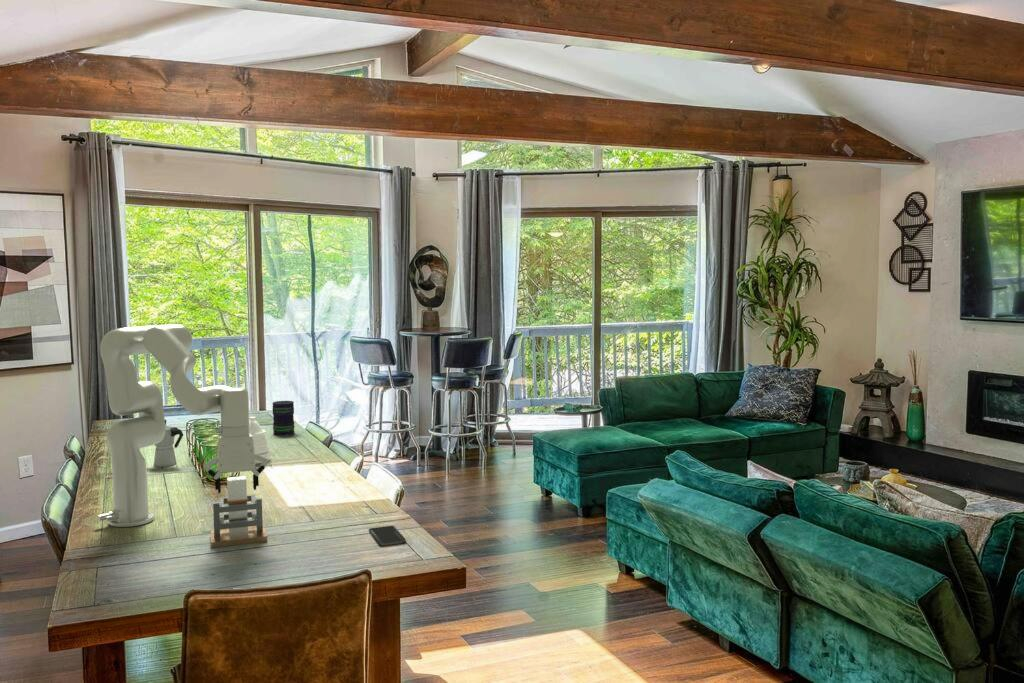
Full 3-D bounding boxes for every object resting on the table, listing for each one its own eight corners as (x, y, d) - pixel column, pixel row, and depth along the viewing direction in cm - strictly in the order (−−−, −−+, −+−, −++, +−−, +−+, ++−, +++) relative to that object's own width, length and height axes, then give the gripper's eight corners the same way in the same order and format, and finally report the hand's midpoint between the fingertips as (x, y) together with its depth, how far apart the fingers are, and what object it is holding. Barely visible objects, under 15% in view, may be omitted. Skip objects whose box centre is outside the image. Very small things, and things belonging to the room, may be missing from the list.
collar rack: (211, 547, 227) (209, 508, 226) (211, 535, 237) (209, 498, 236) (267, 541, 232) (266, 503, 231) (264, 529, 242) (263, 493, 241)
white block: (229, 537, 231) (227, 481, 230) (228, 531, 236) (226, 477, 234) (248, 535, 233) (246, 480, 231) (247, 529, 238) (245, 475, 236)
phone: (379, 544, 227) (367, 528, 241) (379, 548, 227) (368, 532, 241) (407, 540, 230) (394, 525, 244) (407, 544, 230) (394, 528, 244)
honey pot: (271, 462, 328) (270, 418, 327) (237, 465, 323) (236, 420, 322) (268, 455, 340) (267, 412, 339) (236, 458, 335) (234, 415, 334)
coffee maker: (143, 466, 322) (142, 421, 321) (158, 461, 331) (156, 417, 329) (176, 468, 319) (175, 422, 317) (190, 462, 327) (189, 418, 326)
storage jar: (272, 432, 389) (272, 401, 388) (294, 430, 392) (293, 400, 391) (273, 436, 380) (272, 404, 378) (295, 434, 383) (294, 403, 381)
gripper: (202, 436, 225) (204, 496, 227) (267, 431, 231) (269, 490, 233) (202, 431, 232) (205, 489, 234) (266, 426, 238) (267, 484, 240)
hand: (237, 490), depth 233 cm, fingers open, 9 cm apart
